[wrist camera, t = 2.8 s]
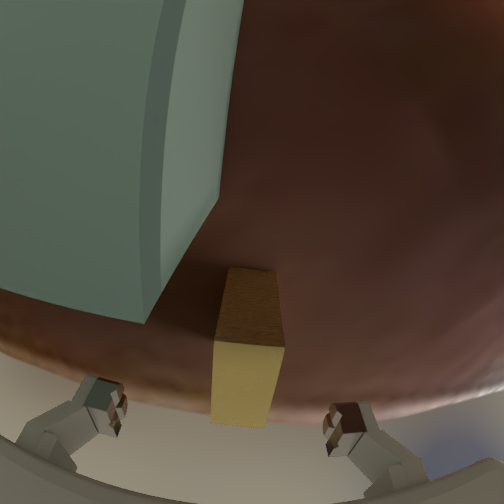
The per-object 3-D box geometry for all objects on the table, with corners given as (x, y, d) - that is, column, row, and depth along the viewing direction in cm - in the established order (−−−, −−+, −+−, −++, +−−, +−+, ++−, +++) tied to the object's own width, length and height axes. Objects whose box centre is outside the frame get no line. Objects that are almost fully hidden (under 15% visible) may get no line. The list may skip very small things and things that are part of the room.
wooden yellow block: (275, 271, 15) (285, 347, 10) (262, 346, 17) (264, 428, 11) (229, 266, 15) (214, 340, 9) (222, 342, 17) (210, 422, 11)
